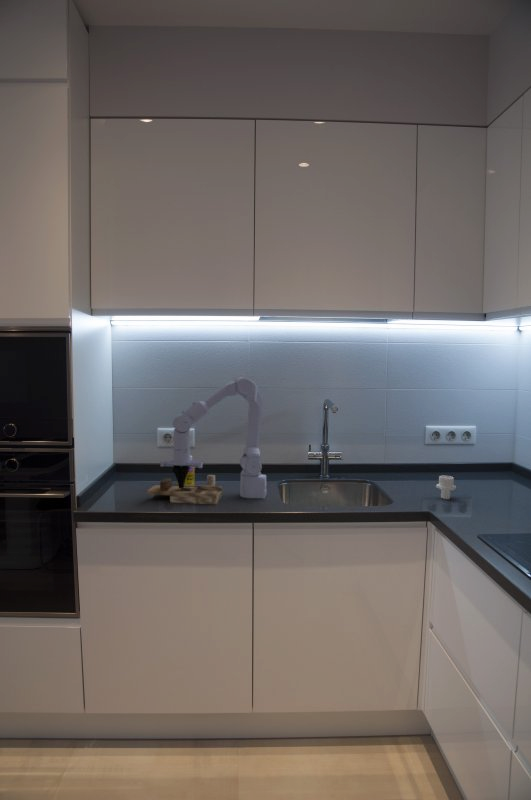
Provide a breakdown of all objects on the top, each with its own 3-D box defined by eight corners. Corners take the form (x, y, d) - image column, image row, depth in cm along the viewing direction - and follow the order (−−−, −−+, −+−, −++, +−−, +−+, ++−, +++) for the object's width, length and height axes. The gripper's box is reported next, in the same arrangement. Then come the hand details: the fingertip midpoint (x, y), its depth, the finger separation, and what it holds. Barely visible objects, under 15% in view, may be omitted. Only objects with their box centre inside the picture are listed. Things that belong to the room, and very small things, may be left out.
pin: (215, 493, 204) (215, 475, 204) (214, 495, 201) (214, 476, 201) (207, 493, 205) (208, 474, 204) (206, 495, 202) (206, 476, 201)
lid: (198, 489, 197) (198, 478, 196) (192, 496, 188) (192, 484, 187) (154, 487, 198) (154, 476, 198) (146, 493, 189) (146, 482, 189)
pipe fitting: (434, 495, 208) (435, 474, 208) (453, 496, 207) (454, 475, 207) (436, 499, 202) (437, 478, 202) (456, 500, 201) (458, 479, 200)
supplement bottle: (186, 492, 205) (187, 458, 204) (173, 489, 209) (173, 456, 208) (198, 488, 211) (198, 455, 210) (184, 486, 214) (185, 453, 213)
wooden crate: (221, 498, 197) (222, 486, 197) (216, 507, 186) (216, 494, 186) (178, 496, 198) (178, 484, 198) (170, 504, 188) (170, 492, 187)
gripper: (204, 447, 195) (204, 485, 196) (164, 446, 196) (164, 483, 197) (200, 451, 188) (199, 490, 189) (158, 449, 189) (158, 488, 190)
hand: (181, 487), depth 192 cm, fingers closed
